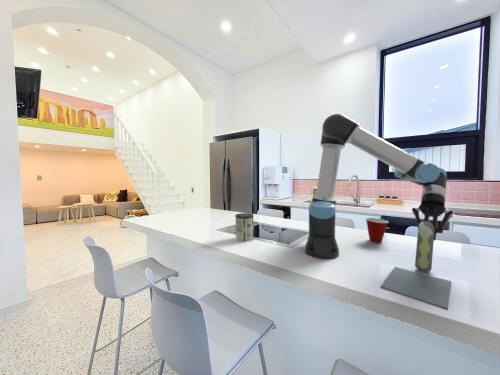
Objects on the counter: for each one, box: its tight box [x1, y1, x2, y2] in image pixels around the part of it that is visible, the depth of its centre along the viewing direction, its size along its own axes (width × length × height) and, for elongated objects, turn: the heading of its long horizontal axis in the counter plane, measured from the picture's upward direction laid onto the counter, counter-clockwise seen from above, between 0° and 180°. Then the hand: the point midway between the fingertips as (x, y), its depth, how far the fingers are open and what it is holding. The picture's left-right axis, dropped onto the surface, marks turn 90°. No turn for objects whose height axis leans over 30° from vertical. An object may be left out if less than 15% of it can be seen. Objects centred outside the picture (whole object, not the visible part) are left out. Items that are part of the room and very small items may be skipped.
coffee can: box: [234, 212, 254, 242], centre depth 121 cm, size 10×10×14 cm
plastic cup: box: [365, 217, 389, 243], centre depth 115 cm, size 11×11×12 cm
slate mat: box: [380, 266, 452, 310], centre depth 70 cm, size 20×16×1 cm
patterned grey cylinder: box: [414, 221, 434, 273], centre depth 77 cm, size 5×5×20 cm
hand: (427, 246), depth 79 cm, fingers closed
